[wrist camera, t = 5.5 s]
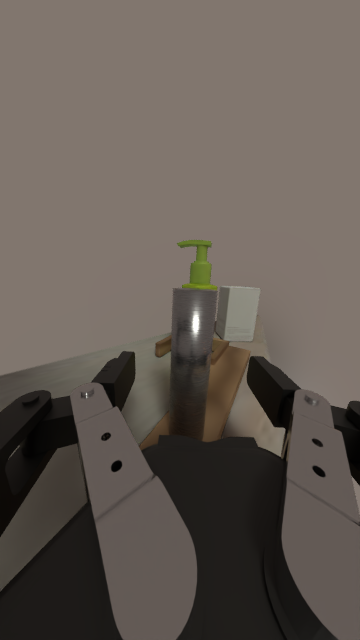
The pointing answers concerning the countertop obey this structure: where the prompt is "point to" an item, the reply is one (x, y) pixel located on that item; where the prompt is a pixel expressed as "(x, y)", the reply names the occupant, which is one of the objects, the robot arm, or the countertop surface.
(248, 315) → the supplement box
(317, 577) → the robot arm
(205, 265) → the soap dispenser
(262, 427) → the countertop surface
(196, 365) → the base with upright cylinder
